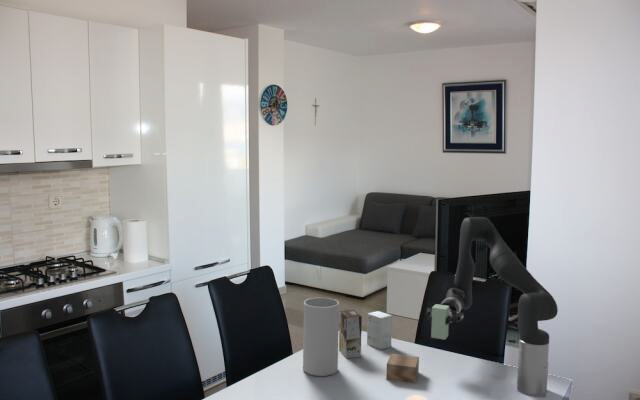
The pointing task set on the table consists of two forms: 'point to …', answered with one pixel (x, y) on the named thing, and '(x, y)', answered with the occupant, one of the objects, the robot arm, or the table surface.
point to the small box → (379, 329)
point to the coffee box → (350, 333)
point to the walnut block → (402, 368)
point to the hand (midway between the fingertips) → (438, 320)
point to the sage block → (439, 321)
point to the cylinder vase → (320, 336)
